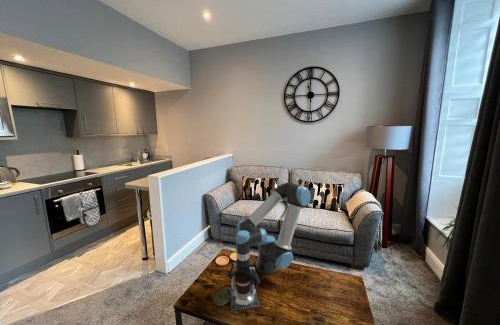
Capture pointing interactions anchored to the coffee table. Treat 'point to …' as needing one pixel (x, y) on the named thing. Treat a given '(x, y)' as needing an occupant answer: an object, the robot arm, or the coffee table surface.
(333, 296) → the coffee table surface
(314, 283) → the coffee table surface
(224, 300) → the seashell
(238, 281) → the coffee cup
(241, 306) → the duct flange
